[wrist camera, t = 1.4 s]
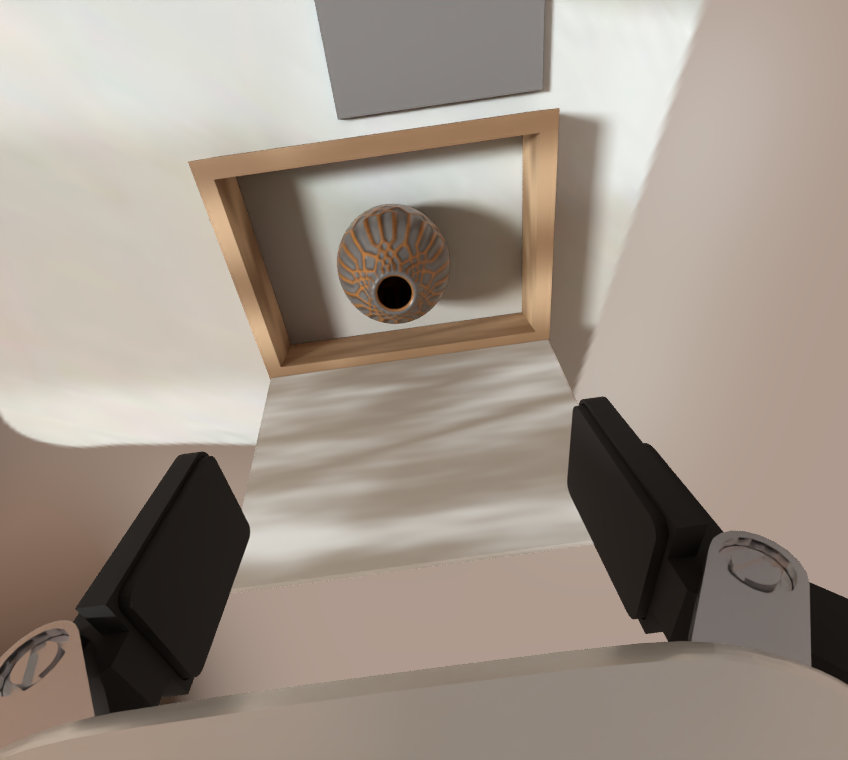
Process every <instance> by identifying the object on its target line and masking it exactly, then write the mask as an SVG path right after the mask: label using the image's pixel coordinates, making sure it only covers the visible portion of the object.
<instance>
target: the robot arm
mask: <svg viewBox="0 0 848 760" xmlns="http://www.w3.org/2000/svg"><path fill="white" fill-rule="evenodd" d="M567 486H568V491H569V494H570V496H571V498H572V500H573V502H574V504H575V506H576V509H577V511H578V513H579V515H580V517H581V519H582V521H583V523H584V525H585V527H586V529H587V531H588V533H589V535H590V537H591V539H592V541H593V543H594V545H595V548H596V549H597V552H598V553H599V556H600V558H601V560H602V562H603V564H604V566H605V568H606V570H607V572H608V574H609V576H610V578H611V580H612V582H613V585H614V587H615V589H616V591H617V592H618V595H619V597H620V599H621V601H622V603H623V605H624V607H625V609H626V611H627V613H628V614H629V616H630V617H631V618H632V619H638V620H639V622H640V624H641V626H642V628H643V630H644V632H645V633H646V634H648V633H657V632H663V633H664V634H665V636H666V638H667V640H668V642H657V643H640V644H631V645H621V646H612V647H602V648H593V649H584V650H574V651H566V652H558V653H549V654H541V655H534V656H525V657H517V658H510V659H502V660H494V661H486V662H478V663H470V664H462V665H454V666H446V667H438V668H431V669H423V670H415V671H408V672H400V673H392V674H385V675H377V676H369V677H363V678H354V679H348V680H340V681H332V682H324V683H317V684H310V685H302V686H295V687H287V688H280V689H272V690H265V691H259V692H251V693H243V694H236V695H229V696H222V697H214V698H207V699H200V700H192V701H185V702H179V703H172V704H166V705H160V706H158V705H159V703H160V700H161V698H162V696H163V697H171V696H178V695H185V694H188V693H189V690H190V687H191V685H192V682H193V679H194V677H197V676H198V675H199V674H200V673H201V671H202V669H203V667H204V664H205V661H206V659H207V655H208V653H209V650H210V647H211V645H212V642H213V639H214V636H215V633H216V630H217V628H218V625H219V622H220V620H221V617H222V614H223V611H224V608H225V605H226V602H227V600H228V597H229V594H230V591H231V589H232V586H233V583H234V580H235V577H236V575H237V572H238V569H239V566H240V563H241V561H242V558H243V555H244V552H245V549H246V547H247V544H248V541H249V538H250V526H249V523H248V521H247V519H246V517H245V515H244V513H243V512H242V510H241V508H240V506H239V504H238V502H237V500H236V498H235V496H234V494H233V492H232V490H231V488H230V486H229V485H228V482H227V480H226V478H225V476H224V475H223V473H222V471H221V469H220V467H219V465H218V463H217V461H216V459H215V458H214V457H213V456H209V455H208V454H207V453H205V452H196V453H189V454H182V455H179V456H178V457H177V458H176V459H175V461H174V462H173V464H172V465H171V467H170V468H169V470H168V471H167V473H166V474H165V476H164V477H163V479H162V480H161V482H160V483H159V485H158V486H157V488H156V489H155V491H154V492H153V494H152V495H151V497H150V498H149V499H148V501H147V503H146V504H145V505H144V507H143V509H142V510H141V511H140V513H139V514H138V516H137V517H136V519H135V520H134V522H133V523H132V525H131V526H130V528H129V530H128V531H127V532H126V534H125V535H124V537H123V538H122V540H121V541H120V543H119V544H118V546H117V547H116V549H115V550H114V552H113V553H112V555H111V556H110V558H109V559H108V561H107V562H106V564H105V565H104V567H103V568H102V570H101V571H100V573H99V574H98V576H97V577H96V579H95V580H94V582H93V583H92V585H91V586H90V587H89V589H88V591H87V592H86V593H85V595H84V596H83V598H82V599H81V601H80V602H79V604H78V605H77V607H76V608H75V609H76V610H77V611H78V612H79V614H78V616H77V617H76V618H75V620H74V622H70V621H67V620H66V621H56V622H52V623H49V624H46V625H44V626H42V627H40V628H38V629H36V630H34V631H32V632H31V633H29V634H28V635H26V636H25V637H23V638H22V639H21V640H19V641H18V642H16V643H15V644H14V645H13V646H12V647H11V648H10V649H9V650H8V651H7V652H6V653H5V654H3V655H2V657H1V658H0V760H848V599H847V598H845V597H843V596H840V595H838V594H835V593H833V592H831V591H829V590H826V589H824V588H822V587H819V586H817V585H814V584H812V583H810V582H809V580H808V576H807V573H806V571H805V570H804V568H803V567H802V565H801V563H800V562H799V561H798V560H797V559H796V558H795V557H794V556H793V555H792V554H791V553H790V552H789V551H788V550H786V549H785V548H783V547H782V546H780V545H778V544H777V543H775V542H774V541H771V540H769V539H767V538H765V537H763V536H760V535H757V534H753V533H749V532H745V531H728V532H723V531H722V530H721V529H720V527H719V526H718V525H717V524H716V523H715V521H714V520H713V519H712V518H711V517H710V515H709V514H708V513H707V512H706V510H705V509H704V508H703V507H702V506H701V504H700V503H699V502H698V501H697V500H696V498H695V497H694V496H693V495H692V494H691V492H690V491H689V490H688V489H687V487H686V486H685V485H684V484H683V483H682V482H681V480H680V479H679V478H678V477H677V476H676V474H675V473H674V472H673V471H672V470H671V468H670V467H669V466H668V464H667V463H666V462H665V461H664V460H663V458H662V457H661V456H660V455H659V454H658V452H657V451H656V450H655V449H654V448H653V447H652V446H651V445H649V444H647V443H642V441H641V440H640V439H639V438H638V436H637V435H636V434H635V433H634V431H633V430H632V429H631V428H630V427H629V425H628V424H627V423H626V421H625V420H624V419H623V418H622V417H621V415H620V414H619V413H618V411H617V410H616V409H615V408H614V406H613V405H612V404H611V403H610V401H609V400H608V399H607V398H606V397H597V398H589V399H582V400H581V401H580V403H579V406H574V408H573V412H572V425H571V438H570V450H569V463H568V475H567Z"/></svg>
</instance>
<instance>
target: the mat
mask: <svg viewBox="0 0 848 760" xmlns="http://www.w3.org/2000/svg"><path fill="white" fill-rule="evenodd" d="M314 1H315V6H316V11H317V16H318V21H319V26H320V31H321V36H322V41H323V46H324V51H325V56H326V61H327V67H328V72H329V77H330V82H331V87H332V92H333V97H334V102H335V107H336V112H337V117H338V119H344V118H351V117H358V116H365V115H372V114H379V113H386V112H393V111H400V110H407V109H414V108H420V107H427V106H434V105H441V104H448V103H455V102H462V101H469V100H476V99H483V98H490V97H496V96H503V95H510V94H517V93H524V92H531V91H538V90H543V50H544V11H545V0H314Z"/></svg>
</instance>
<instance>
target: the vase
mask: <svg viewBox="0 0 848 760" xmlns="http://www.w3.org/2000/svg"><path fill="white" fill-rule="evenodd" d="M337 268H338V275H339V280H340V283H341V285H342V288H343V290H344V292H345V294H346V296H347V297H348V299H349V300H350V301H351V303H352V304H353V305H354V306H355V307H356V308H357V309H358V310H359V311H361V312H362V313H363V314H365V315H366V316H368V317H370V318H372V319H374V320H376V321H379V322H384V323H390V324H399V323H406V322H410V321H413V320H415V319H418V318H420V317H421V316H423V315H425V314H426V313H427V312H429V311H430V310H431V309H432V308H433V307H434V306H435V305H436V304H437V302H438V301H439V299H440V298H441V296H442V294H443V293H444V290H445V288H446V285H447V283H448V279H449V273H450V257H449V251H448V248H447V244H446V242H445V239H444V237H443V235H442V234H441V232H440V230H439V229H438V227H437V226H436V225H435V224H434V223H433V222H432V221H431V220H430V219H429V218H428V217H427V216H426V215H424V214H423V213H421V212H420V211H418V210H416V209H414V208H412V207H409V206H405V205H400V204H385V205H380V206H376V207H373V208H371V209H369V210H367V211H365V212H364V213H362V214H361V215H360V216H358V217H357V218H356V219H355V220H354V221H353V222H352V223H351V225H350V226H349V227H348V229H347V230H346V232H345V234H344V236H343V238H342V240H341V243H340V246H339V250H338V256H337Z"/></svg>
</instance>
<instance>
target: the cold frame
mask: <svg viewBox="0 0 848 760" xmlns="http://www.w3.org/2000/svg"><path fill="white" fill-rule="evenodd" d="M558 130H559V108H557V109H547V110H538V111H531V112H524V113H517V114H510V115H504V116H497V117H490V118H483V119H476V120H469V121H462V122H455V123H448V124H441V125H434V126H427V127H420V128H413V129H407V130H400V131H393V132H386V133H379V134H372V135H365V136H358V137H351V138H344V139H337V140H330V141H323V142H316V143H310V144H303V145H296V146H289V147H282V148H275V149H268V150H261V151H254V152H247V153H240V154H233V155H226V156H219V157H213V158H207V159H201V160H195V161H190V162H188V163H189V166H190V168H191V171H192V174H193V176H194V179H195V181H196V184H197V187H198V189H199V192H200V195H201V197H202V200H203V203H204V205H205V208H206V211H207V213H208V216H209V218H210V221H211V224H212V226H213V229H214V232H215V234H216V237H217V240H218V242H219V245H220V247H221V250H222V253H223V255H224V258H225V261H226V263H227V266H228V269H229V271H230V274H231V277H232V279H233V282H234V284H235V287H236V290H237V292H238V295H239V298H240V300H241V303H242V306H243V308H244V311H245V314H246V316H247V319H248V321H249V324H250V327H251V329H252V332H253V335H254V337H255V340H256V343H257V345H258V348H259V350H260V353H261V356H262V358H263V361H264V364H265V366H266V369H267V372H268V374H269V377H270V380H271V381H270V385H269V390H268V394H267V399H266V403H265V408H264V412H263V417H262V422H261V426H260V431H259V435H258V440H257V444H256V449H255V453H254V458H253V463H252V467H251V472H250V476H249V481H248V485H247V490H246V494H245V499H244V503H243V508H242V512H243V513H244V515H245V517H246V519H247V521H248V523H249V526H250V538H249V541H248V544H247V547H246V549H245V552H244V555H243V558H242V561H241V563H240V566H239V569H238V572H237V575H236V577H235V580H234V583H233V586H232V589H231V591H230V594H232V593H240V592H247V591H254V590H262V589H269V588H277V587H284V586H291V585H298V584H305V583H313V582H320V581H328V580H335V579H343V578H350V577H358V576H365V575H372V574H380V573H387V572H394V571H401V570H409V569H417V568H424V567H431V566H438V565H446V564H453V563H460V562H468V561H475V560H482V559H490V558H497V557H505V556H512V555H520V554H527V553H534V552H541V551H549V550H556V549H564V548H571V547H578V546H586V545H593V544H594V543H593V541H592V539H591V537H590V535H589V533H588V531H587V529H586V527H585V525H584V523H583V521H582V519H581V517H580V515H579V513H578V511H577V509H576V506H575V504H574V502H573V500H572V498H571V496H570V494H569V491H568V486H567V475H568V463H569V450H570V438H571V425H572V412H573V408H574V406H579V405H578V403H577V401H576V399H575V397H574V395H573V392H572V390H571V388H570V386H569V384H568V381H567V379H566V377H565V375H564V373H563V371H562V368H561V366H560V364H559V362H558V360H557V358H556V355H555V353H554V351H553V349H552V347H551V344H550V342H549V334H550V311H551V289H552V266H553V244H554V221H555V198H556V176H557V153H558ZM521 135H523V208H522V313H515V314H508V315H500V316H493V317H486V318H479V319H472V320H465V321H458V322H451V323H444V324H436V325H429V326H422V327H415V328H408V329H401V330H394V331H387V332H379V333H372V334H365V335H358V336H351V337H344V338H337V339H330V340H322V341H315V342H308V343H301V344H294V345H291V343H290V340H289V337H288V334H287V331H286V328H285V325H284V322H283V319H282V316H281V313H280V310H279V307H278V304H277V301H276V298H275V294H274V291H273V288H272V285H271V282H270V279H269V276H268V273H267V270H266V267H265V264H264V261H263V258H262V255H261V252H260V249H259V246H258V243H257V240H256V237H255V234H254V231H253V228H252V225H251V222H250V219H249V216H248V213H247V210H246V207H245V204H244V200H243V197H242V194H241V191H240V188H239V185H238V182H237V179H236V176H243V175H250V174H257V173H264V172H271V171H278V170H285V169H291V168H298V167H305V166H312V165H319V164H326V163H333V162H340V161H347V160H354V159H361V158H368V157H375V156H382V155H389V154H396V153H403V152H410V151H417V150H423V149H430V148H437V147H444V146H451V145H458V144H465V143H472V142H479V141H486V140H493V139H500V138H507V137H514V136H521Z"/></svg>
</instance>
